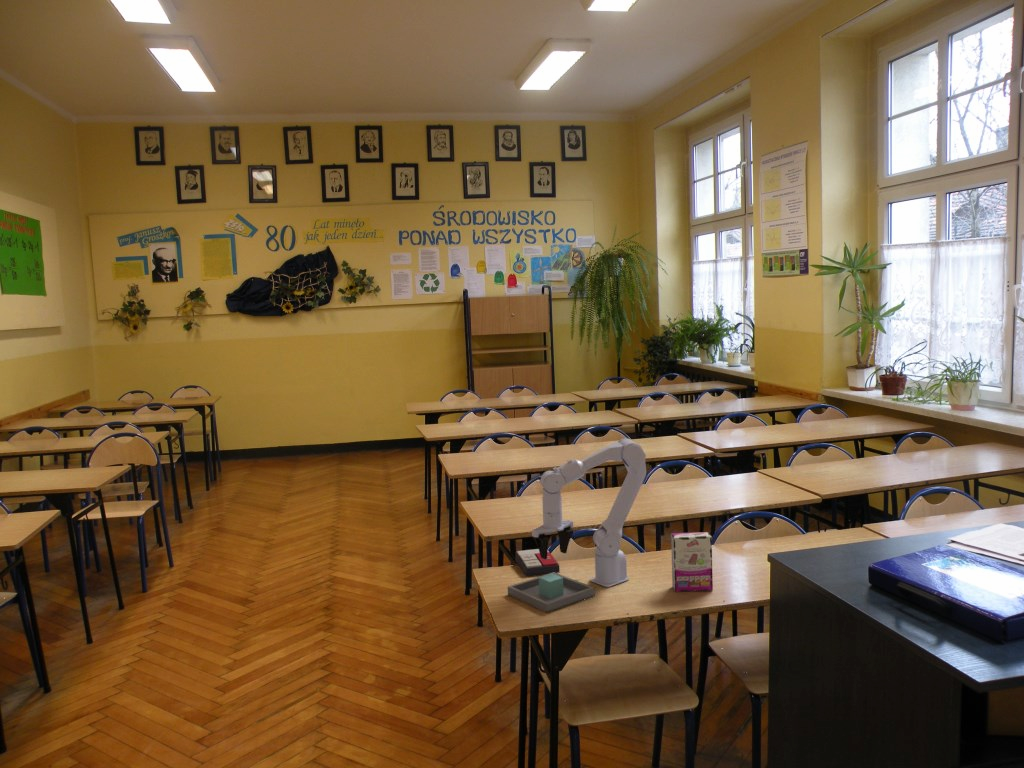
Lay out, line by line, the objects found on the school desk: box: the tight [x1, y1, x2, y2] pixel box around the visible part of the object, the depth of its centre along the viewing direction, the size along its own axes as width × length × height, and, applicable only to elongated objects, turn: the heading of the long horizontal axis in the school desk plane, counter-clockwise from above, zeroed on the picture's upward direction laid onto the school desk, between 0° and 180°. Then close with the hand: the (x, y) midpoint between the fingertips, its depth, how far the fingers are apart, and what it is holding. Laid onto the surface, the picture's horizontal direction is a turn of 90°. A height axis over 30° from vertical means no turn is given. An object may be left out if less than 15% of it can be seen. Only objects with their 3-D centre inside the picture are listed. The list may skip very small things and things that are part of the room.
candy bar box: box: [670, 531, 714, 593], centre depth 225 cm, size 11×5×16 cm, turn 89°
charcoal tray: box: [507, 572, 596, 614], centre depth 224 cm, size 18×18×2 cm
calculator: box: [515, 548, 560, 577], centre depth 248 cm, size 11×4×15 cm
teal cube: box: [538, 573, 564, 599], centre depth 223 cm, size 5×5×5 cm
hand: (553, 555), depth 231 cm, fingers open, 7 cm apart
